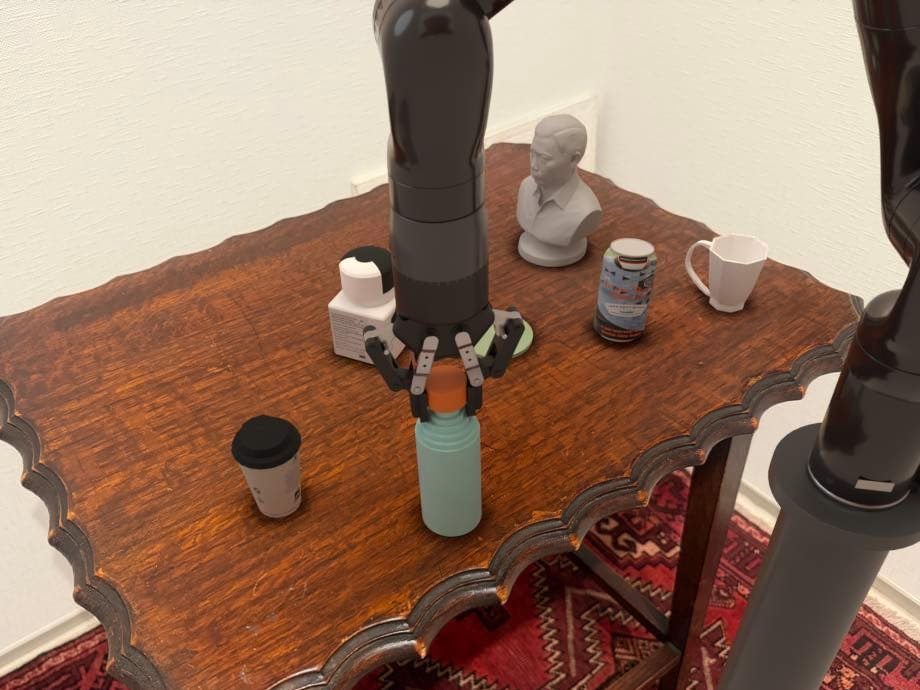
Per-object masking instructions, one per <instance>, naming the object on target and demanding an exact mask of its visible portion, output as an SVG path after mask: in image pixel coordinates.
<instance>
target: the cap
mask: <svg viewBox="0 0 920 690" xmlns="http://www.w3.org/2000/svg"><path fill="white" fill-rule="evenodd" d="M465 372H466V371H464V370H463V369H462V368H460V367H457V366H455V365H451V364H442V365H436V366H434V367H432V368H431V372H430V375H429V376H428V377H427V381H426V385H425V390H426V393H427V407H428V408H430V409H431V410H433V411H435V412H439V413H451V412H455V411H457V410H459V409H461V408H462V407H463V406H464V405H465V404H466V402H467V376H466V374H465Z"/></svg>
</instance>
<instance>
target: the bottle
mask: <svg viewBox="0 0 920 690" xmlns="http://www.w3.org/2000/svg"><path fill="white" fill-rule="evenodd" d="M414 435H415V447H416V449H415V450H416V460H417V471H418V483H419V495H420V505H421V516H422V521H423V523H424V525H425V526H426V527H427V528H428V529H429V530H430V531H432V532H433V533H434V534H437V535H440V536H444V537H459V536H463V535H466V534H469V533H471V532H472V531H473V530H475V528H476V527H477V526H478V525H479V524H480V521H481V519H482V514H483V513H482V511H483V510H482V462H481V461H482V458H481V457H482V456H481V454H482V453H481V425H480V422H479V420H478V418H477V416H470V417H468V416H467V413H466V409H465V405H464V406H463V407H462V408H461V409H459V410H457V411H455V412H451V413H439V412H435V411H433V410H431V409H430V408H428V422H425V423H420V418H417V420H416V423H415V427H414Z"/></svg>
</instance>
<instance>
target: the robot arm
mask: <svg viewBox="0 0 920 690" xmlns="http://www.w3.org/2000/svg"><path fill="white" fill-rule="evenodd" d="M513 2H515V0H375V1H374V3H373V4H374V5H373V9H372V15H371V16H372V17H371V25H372V32H373V35H374V41H375V42H376V47H377V50H378V53H379V56H380V60H381V64H382V71H383V79H384V84H385V92H386V101H387V112H388V122H389V131H390V132H389V133H388V139H387V145H386V168H387V180H388V193H389V205H390V206H389V207H390V209H389V221H388V222H389V227H388V229H389V240H388V249H389V252H391V257H392V268H393V280H394V291H395V303H396V309H395V312H394V314H393V316H392V318H391V323H389V324H387V325H384V326H382V327H380V328H378V329H376V327H375V326H372V325H368V326H366V327H364V329H363V337H364V344H365V350H366V352H367V354H368V355H369V357H370V358H371V360H372V362H373V363H374V364H373V365H374V366H375V368H376V370H377V371H378V373H379V374H380V376H381V378H382V379H383V380H384V382H385V384H386V385H387V387H388V389H389V390H390V391H391V392H394V393H398V392H401V391H402V390H404V391H407V392H408V398H409V406H410V411H411V412H410V413H411V415H412V417H413V418H414V419H418V418H420V423H425V422H428V407H427V393H426V390H425V385H426V381H427V377H428V376H429V375H430V372H431V369H432V368H433V363H434V362H438V361H441V360H445V359H461V360H462V363H463V366H464V369H465V371H464V372H465V374H466V376H467V402H466V404H465V409H466V413H467V416H468V417H470V416H476V415H477V412H476V411H479V410H481V409H482V406H483V384H484V383H485V381H486V380H488V379H490V378H493V379H500V378H502V377H503V376H504V375H505V373H506V371H507V369H508V367H509V365H510V363H511V361H512V359H513V358H512V356H513V354H514V352H515V350H516V348H517V346H518V343H519V341H520V339H521V337H522V335H523V333H524V331H525V326H524V323H523V320H524V319H523V318H522V315H521V313H520V311H519V308H518V307H517V306H514V305H513V306H509V307H507V308H506V309H505V310H501V309H495V308H493V305H492V303H491V302H490V297H489V296H490V295H489V292H490V291H489V290H490V289H489V288H490V287H489V286H490V282H489V281H490V279H489V278H490V275H489V274H490V273H489V272H490V271H489V270H490V269H489V267H490V263H489V261H490V227H489V225H490V224H489V215H488V209H487V201H486V150H485V149H486V148H485V136H486V132H487V127H488V121H489V115H490V108H491V100H492V93H493V84H494V73H495V71H494V69H495V57H494V55H495V53H494V37H493V33H492V27H491V23H490V20H492V19H493V18H494V17H495V16H496V15H497V14H499V13H500V12H502V11H503V10H504V9H505V8H507V7H508V6H510V5H511V4H512V3H513ZM851 7H852V12H853V19H854V23H855V29H856V32H857V36H858V41H859V46H860V51H861V56H862V61H863V66H864V71H865V75H866V80H867V84H868V88H869V91H870V95H871V99H872V103H873V106H874V110H875V115H876V119H877V127H878V137H879V167H880V168H879V171H880V172H879V175H880V178H879V179H880V212H881V214H880V215H881V221H882V226H883V229H884V232H885V235H886V237H887V239H888V241H889V242H890V244H891V246H892V247H893V248H894V250H895V251H896V253H897V255H898V256H899V257H900V258H901V260H902V261H903V263H904V264H905V266H906V267H907V268H908V272H907V275H906V278H905V280H904V283H903V285H902V287H901V288H896V289H891V290H887V291H884V292H882V293H879V294H877V295H876V296H874V297H873V298H871V299H870V300H869V301H868V303H867V304H866V305H865V307H864V309H863V311H862V314H861V316H860V319H859V321H858V324H857V326H856V330H855V332H854V335H853V338H852V340H851V342H850V346H849V349H848V351H847V354H846V357H845V359H844V363H843V365H842V368H841V370H840V373H839V376H838V379H837V381H836V384H835V387H834V388H833V391H832V395H831V398H830V400H829V402H828V406H827V408H826V411H825V413H824V417H823V419H822V421H821V422H822V424H821V427H820V430H819V432H818V435H817V438H816V440H815V443H814V446H813V448H812V450H811V452H810V454H809V456H808V459H807V462H806V471H807V475H808V477H809V479H810V481H811V482H812V484H813V485H814V486H815V487H816V488H817V489H818V490H819V491H820V492H821V493H822V494H823V495H825V496H826V497H828V498H829V499H831V500H832V501H834V502H836V503H838V504H841V505H843V506H846V507H849V508H852V509H856V510H862V511H884V510H888V509H892V508H894V507H896V506H898V505H900V504H901V503H902V502H903V501H904V500H905V499H906V498H907V496H908V494H910V493H916V492H917V491H918V489H919V487H920V0H851ZM522 319H523V320H522ZM492 324H493V325H494V330H495V335H494V337H493V339H492V341H491V344H490V346H489V348H488V350H487V353H486V355H485V357H483V358H478V357H477V356H476V353H475V349H474V347H475V346H476V344H477V343H478V342H479V341H480V339H481V338H482V337H483V336H484V335H485V333H486V332H487V331H488V330H489V328H490V327H491V326H492ZM395 337H396V338H397V339H399V340H400V341H401V342H402V343H403V344H404V345H405V347H406V348H407V349H408V350H409V360H408V365H407V368H404V367H400V365H399V363H398V362H397V360H396V359H395V358H394V357H393V355H392V353H391V352H390V351H391V350H392V348H393V346H392V340H393V339H394V338H395ZM511 358H512V359H511ZM476 417H477V416H476Z"/></svg>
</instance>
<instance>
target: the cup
mask: <svg viewBox="0 0 920 690" xmlns="http://www.w3.org/2000/svg"><path fill="white" fill-rule="evenodd" d="M698 246H702V247H704V248H706V249H708V250H709V251H708V252H709V253H708V254H709V256H708V287H707V286H706V285H705V284H704V282H703V281H702V280H701V279H700V277H699V276H698V275H697V273H696V272H695V270H694V268H693V267H692V261H691V258H692V254H693V252H694V250H695V248H696V247H698ZM770 248H771V247H770V246H769V245H768V244H766V243H765V242H764V241H762V239H761V240H760V238H758V237H757V236H756V235H755V236H754V235H749V234H742V233H736V232H730V233H727V234H723V235H720V236H719V235H718V236H715V237H713V238H712V241H709V240H705V239H701V240H698V241H697V242H695V243H694V244H692V245H691V246H690V247H689V249H688V251H687V252H686V256H685V259H684V265H685V270H686V272H687V274H688V276H689V278H690V279H691V280H692V281H693V283H694V284H695V285H696V286H697V288H698V289H699V290H700V291H701V292H702V293H703V294H704V295H706V296H707V297H709V301H708V304H710V306H711V307H713V308H714V309H715V310H716V311H720V312H725V313H735V312H739V311H741V310H743V309H744V306H745V303H746V301H747V300H748V298H749V297H750V295H751V293H752V292H753V290H754V288H755V286H756V283H757V281H758V279H759V277H760V275H761V272H762V270H763V268H764V266H765V263H766V262H767V259H768V255H769V251H770Z"/></svg>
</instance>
